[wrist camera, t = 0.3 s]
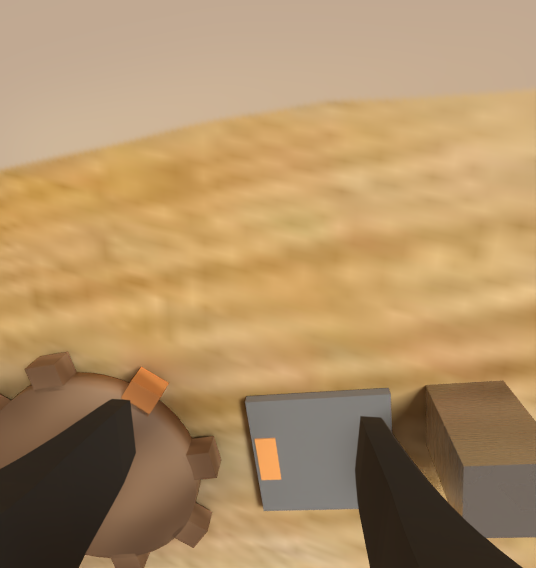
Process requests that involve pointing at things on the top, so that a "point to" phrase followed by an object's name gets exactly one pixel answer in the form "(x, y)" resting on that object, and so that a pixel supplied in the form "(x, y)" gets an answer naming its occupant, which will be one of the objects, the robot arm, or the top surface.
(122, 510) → the sprocket wheel
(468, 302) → the top surface
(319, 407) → the mat
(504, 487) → the link block
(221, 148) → the top surface
